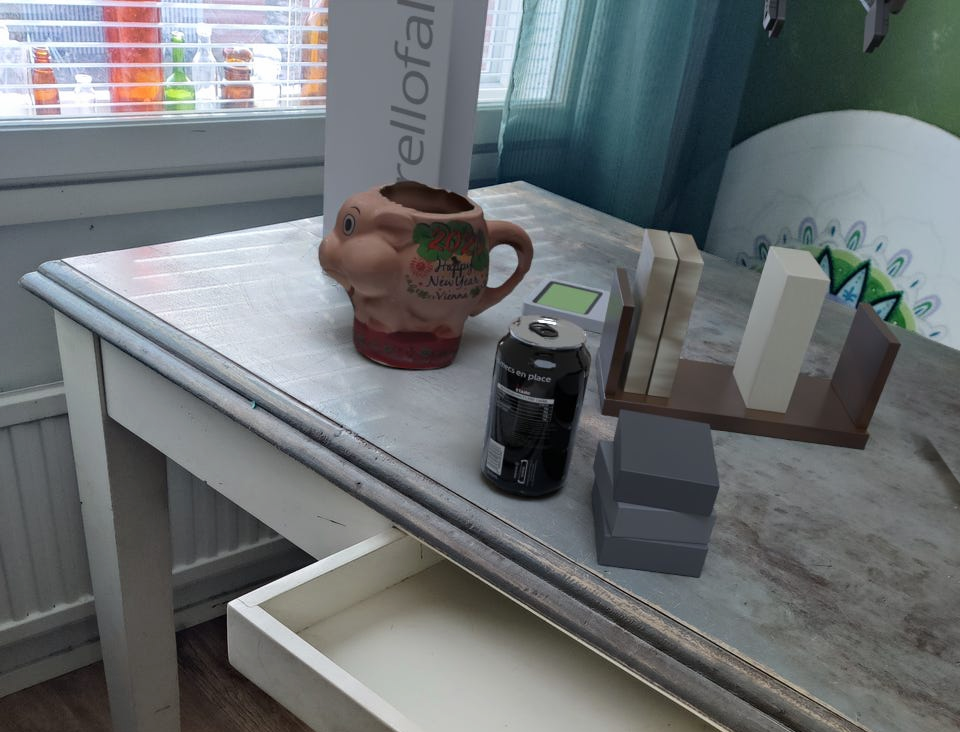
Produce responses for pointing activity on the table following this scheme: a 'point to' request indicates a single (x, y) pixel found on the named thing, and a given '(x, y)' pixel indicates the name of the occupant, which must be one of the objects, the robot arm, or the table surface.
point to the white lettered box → (400, 95)
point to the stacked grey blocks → (655, 494)
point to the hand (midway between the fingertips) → (824, 39)
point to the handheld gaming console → (569, 303)
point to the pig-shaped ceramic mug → (417, 269)
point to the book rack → (712, 387)
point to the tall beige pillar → (779, 328)
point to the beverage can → (535, 404)
